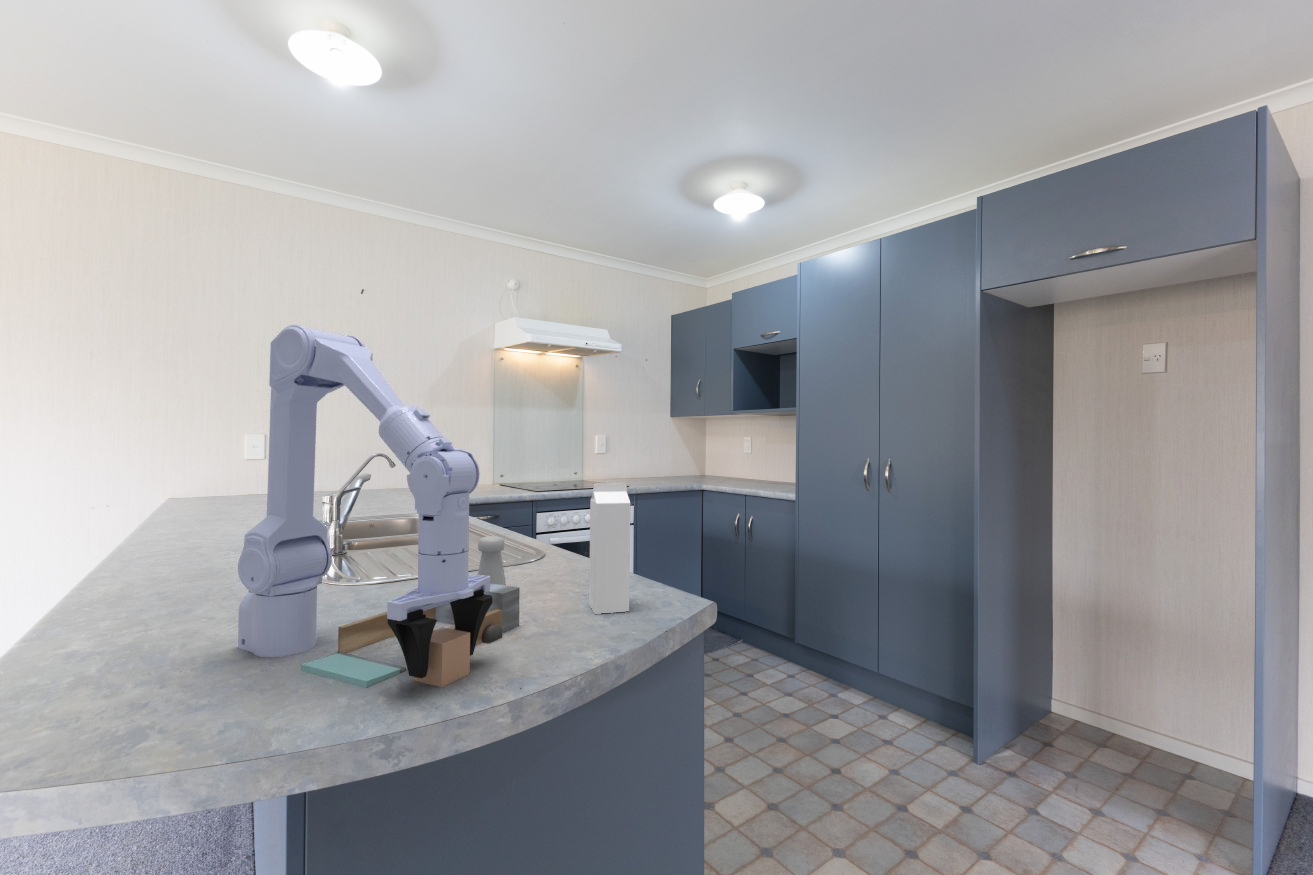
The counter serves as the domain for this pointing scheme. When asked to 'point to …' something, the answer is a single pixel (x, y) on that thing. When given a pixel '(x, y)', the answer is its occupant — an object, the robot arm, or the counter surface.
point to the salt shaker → (492, 559)
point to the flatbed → (493, 626)
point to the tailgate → (352, 669)
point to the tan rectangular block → (447, 657)
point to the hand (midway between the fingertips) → (442, 664)
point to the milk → (609, 548)
